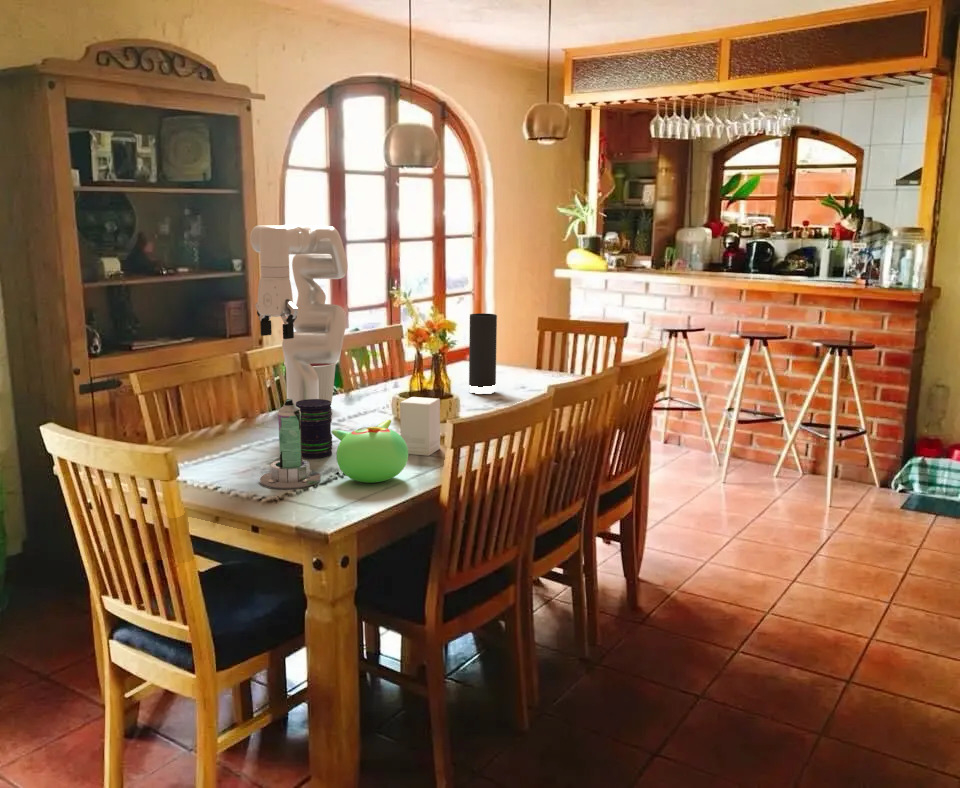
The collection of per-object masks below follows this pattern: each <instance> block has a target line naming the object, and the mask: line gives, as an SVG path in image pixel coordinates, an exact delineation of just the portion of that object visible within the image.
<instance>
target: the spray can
mask: <svg viewBox="0 0 960 788" xmlns="http://www.w3.org/2000/svg"><path fill="white" fill-rule="evenodd" d="M277 413H278V417H277V419H278V444H279V460H280V467H281V468H294V467H299V466H302V460H303V458H302V439H301V411H300V408H298V407H296V406H295V404H294V403H293V400H292V399H287V398H286V399H285V401H284V403H283V406H282V407H280V408H278V412H277Z"/></svg>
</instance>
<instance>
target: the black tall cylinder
mask: <svg viewBox="0 0 960 788" xmlns="http://www.w3.org/2000/svg"><path fill="white" fill-rule="evenodd" d="M497 322H498V315H497V314H495V313H470V314H469V343H468V344H469V349H468V350H469V352H468V353H469V355H468V357H469V359H468V361H469V362H468V386H469V385H471V386H478V387H483V386H492V385H495V384H497V331H498V330H497V329H498V327H497V324H498V323H497Z"/></svg>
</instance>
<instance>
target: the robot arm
mask: <svg viewBox="0 0 960 788" xmlns="http://www.w3.org/2000/svg"><path fill="white" fill-rule="evenodd" d="M249 243H250V246H251V248H252V250H253V251H254V252H256V253H258V254H259V258H260V259H259V261H260V264H259V265H260V266H259V267H260V278H259V281H258V287H257V302H256V303H255V304H254V305H255V306H254V307H255V310H256V314H257V316H258V320H259V322H260V325H259V326H260V336H262V337H263V336H264V337H265V336H271V335H272V320H270V319H271V317H273V318H275V317H276V318H279V317H280V318H281V320H282V322H283V324H282V341H281V349H282V354H283V360H284V362H285V365H284V366H285V375H286V377H285V378H286V380H285V381H286V400H287V399H292V400H293V403H294V404H295V406H296V402H298V401H301V400H307V399H319V382H318V376H317V373H316V371H315V370H314V369H313V367H312V366H311V365H310V364H313V363H321V364H332V363H335V362H337V363H338V361H339V360H340V358H341V356H342V355H341V354H342V349H343V343H344V338H345V332H346V326H347V325H346V324H347V322H346V321H347V319H346V312H345V310H344V308H343V307H342V306H340V305H337V304H331V303H327V304H326V300H327V299H326V298H327V297H326V293H325V292H324V290H323V289H322V287H321V286H320V285H319V284H318V283H317V282H315V280H318V279H319V280H340V279H343V278H345V277H346V275H347V272H348V268H349V267H348V259H347V254H346V251H345V247H344V244H343V241H342V237H341V235H340V232H339V231H338V229H336V227H334V226H330V225H329V226H328V225H301V224H283V225H273V224H272V225H270V224H269V225H268V224H265V225H263V224H261V225H255V226H254V227H253V228H252V230H251V232H250V235H249ZM290 255H294V256H293V258H292V262H291V268H292V269H291V270H292V275H293V279H294V283H295V287H296V290H297V300H296V305H295V304H294V301H293V289H292V284H291V283H292V282H291V279H290V275H291V274H290ZM314 279H315V280H314ZM294 330H295V331H294ZM331 424H332V421H331Z"/></svg>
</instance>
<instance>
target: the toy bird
mask: <svg viewBox="0 0 960 788" xmlns="http://www.w3.org/2000/svg"><path fill="white" fill-rule="evenodd" d="M391 423H392V420H391V419H387V420H384V421H382V422H380V423H379V424H377V425H374V426H367V427H361V428H358V429H355V430H353V431H346V430H341V429H331V435H332V436H334V437H335V438H337V439H338V440H340V442H339V444H338V446H337V449H336V462H337V465H338V467H339V469H340V471H341V473H343V474H344V475H345V476H346V477H348V478H349V479H351V480H354V481H357V482H360V483H369V484H370V483H371V484H372V483H374V484H375V483H381V482H385V481H388V480H390V479H391V480H392V479H393V478H394V477H396V476H398V475H399V474H400V473H401V472H402V471H403V470H404V469H405V467H406V465H407V464H408V463H407V462H408V460H409V454H408V448H407V445H406V442H405V441H404V439H403V438H402V437H401V434H400V433H398V432H397V431H394V429H393V430H392V429H390V425H391Z"/></svg>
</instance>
